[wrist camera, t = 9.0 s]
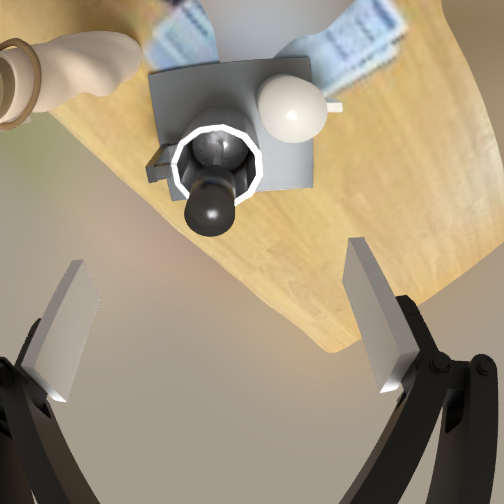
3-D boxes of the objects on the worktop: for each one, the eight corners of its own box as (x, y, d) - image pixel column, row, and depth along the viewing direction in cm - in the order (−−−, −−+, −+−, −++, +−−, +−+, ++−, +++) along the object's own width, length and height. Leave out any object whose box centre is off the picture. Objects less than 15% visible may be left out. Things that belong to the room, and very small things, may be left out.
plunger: (189, 121, 38) (154, 178, 22) (245, 114, 38) (252, 166, 22) (197, 172, 42) (174, 256, 27) (250, 166, 42) (259, 249, 27)
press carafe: (160, 115, 40) (135, 138, 30) (252, 102, 39) (258, 121, 30) (172, 176, 45) (154, 215, 36) (258, 166, 45) (264, 203, 35)
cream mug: (253, 75, 37) (257, 80, 30) (326, 72, 37) (347, 79, 30) (257, 127, 41) (262, 145, 34) (327, 123, 41) (347, 141, 34)
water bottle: (113, 107, 39) (-9, 191, 16) (74, 73, 35) (-68, 128, 12) (159, 56, 35) (50, 73, 13) (117, 20, 31) (-21, 11, 8)
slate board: (149, 74, 37) (147, 75, 36) (308, 57, 36) (310, 57, 36) (173, 198, 49) (171, 201, 48) (311, 184, 48) (313, 187, 47)
